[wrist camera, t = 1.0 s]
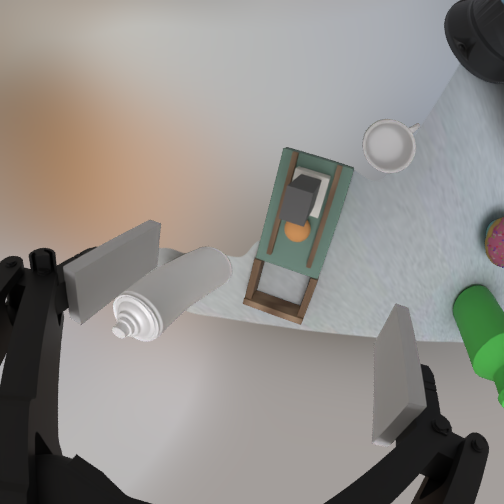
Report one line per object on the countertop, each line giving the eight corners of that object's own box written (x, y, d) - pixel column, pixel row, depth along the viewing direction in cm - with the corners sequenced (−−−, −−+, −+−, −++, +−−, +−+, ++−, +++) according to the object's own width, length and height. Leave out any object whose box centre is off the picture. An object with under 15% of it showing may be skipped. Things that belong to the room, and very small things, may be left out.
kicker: (330, 176, 44) (323, 192, 33) (319, 213, 47) (308, 241, 35) (298, 166, 45) (279, 178, 34) (289, 203, 48) (267, 227, 36)
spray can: (198, 297, 64) (128, 373, 42) (168, 255, 63) (85, 318, 41) (240, 276, 59) (174, 359, 37) (208, 229, 57) (123, 292, 35)
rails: (343, 165, 43) (342, 166, 42) (311, 265, 51) (310, 268, 50) (294, 151, 45) (292, 151, 44) (268, 250, 52) (266, 253, 51)
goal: (319, 271, 54) (317, 282, 50) (304, 312, 58) (300, 324, 54) (260, 251, 56) (253, 260, 52) (249, 293, 60) (242, 303, 56)
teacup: (379, 178, 45) (383, 183, 40) (351, 138, 44) (351, 138, 39) (428, 145, 40) (437, 147, 36) (400, 104, 39) (406, 100, 35)
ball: (315, 217, 47) (311, 224, 44) (308, 240, 49) (304, 249, 46) (290, 209, 48) (285, 216, 45) (284, 232, 50) (278, 240, 46)
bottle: (494, 281, 43) (550, 369, 21) (487, 320, 46) (528, 414, 24) (453, 285, 47) (497, 382, 25) (449, 325, 49) (478, 426, 27)
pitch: (353, 167, 46) (353, 169, 43) (319, 271, 54) (317, 279, 51) (287, 147, 48) (283, 148, 45) (260, 251, 56) (256, 258, 53)
